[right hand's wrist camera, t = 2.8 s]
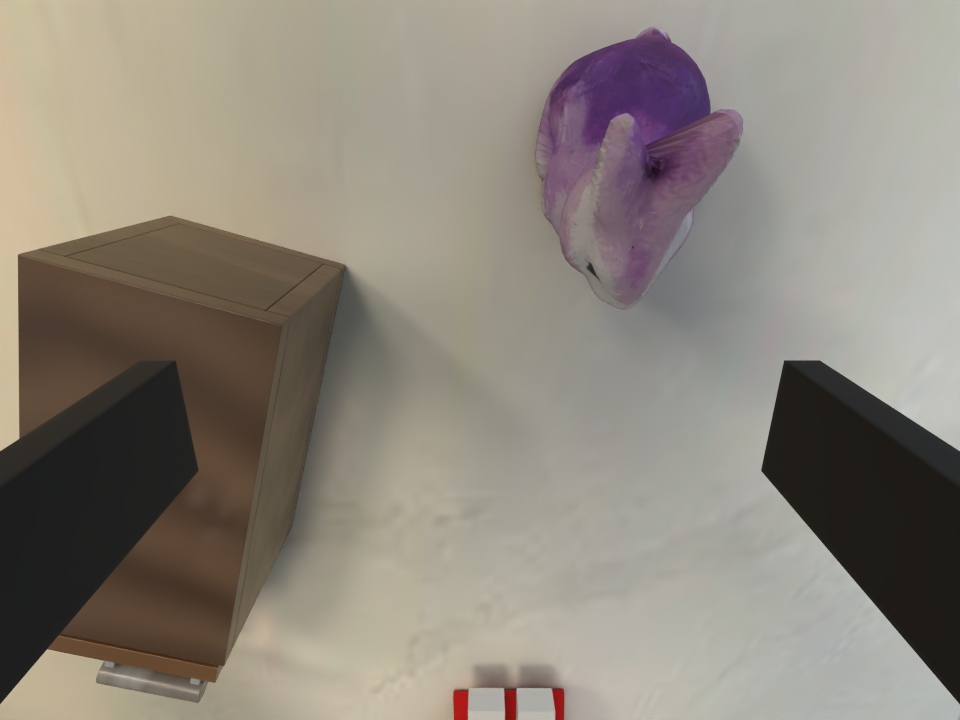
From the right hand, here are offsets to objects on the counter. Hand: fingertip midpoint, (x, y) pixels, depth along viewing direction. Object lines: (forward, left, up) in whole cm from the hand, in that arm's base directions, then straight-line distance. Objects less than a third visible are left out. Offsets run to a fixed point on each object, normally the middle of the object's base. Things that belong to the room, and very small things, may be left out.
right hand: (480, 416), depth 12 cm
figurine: (+1, +8, -23) cm, 24 cm away
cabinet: (-3, -18, -23) cm, 30 cm away
